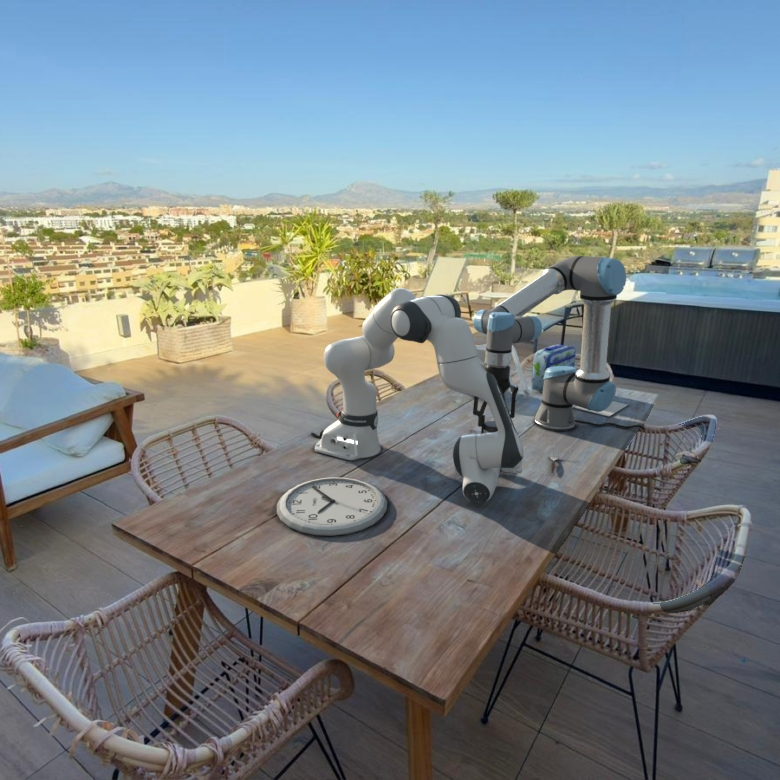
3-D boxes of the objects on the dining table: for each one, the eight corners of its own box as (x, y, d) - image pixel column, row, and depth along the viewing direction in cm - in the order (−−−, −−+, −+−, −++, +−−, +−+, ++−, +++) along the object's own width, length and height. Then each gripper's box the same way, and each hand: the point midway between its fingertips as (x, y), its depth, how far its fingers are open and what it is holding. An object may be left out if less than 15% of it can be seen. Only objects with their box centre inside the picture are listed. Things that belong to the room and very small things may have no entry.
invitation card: (608, 416, 214) (573, 407, 224) (608, 416, 214) (573, 408, 224) (628, 404, 229) (594, 396, 238) (628, 405, 229) (594, 397, 238)
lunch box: (547, 397, 237) (552, 352, 231) (526, 391, 245) (531, 348, 238) (574, 386, 255) (580, 344, 249) (554, 381, 262) (559, 340, 256)
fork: (547, 473, 163) (548, 467, 163) (550, 454, 177) (551, 448, 177) (556, 475, 162) (556, 469, 162) (558, 455, 177) (559, 449, 176)
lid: (504, 429, 162) (504, 423, 162) (495, 434, 158) (496, 428, 158) (489, 425, 166) (489, 419, 165) (480, 429, 162) (480, 424, 161)
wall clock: (392, 527, 129) (268, 531, 127) (391, 533, 130) (269, 537, 127) (383, 473, 158) (282, 475, 155) (383, 478, 158) (282, 480, 156)
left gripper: (522, 464, 149) (525, 445, 161) (451, 453, 154) (459, 437, 167) (520, 484, 151) (523, 464, 163) (450, 473, 156) (458, 455, 169)
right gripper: (528, 363, 158) (521, 435, 165) (467, 359, 161) (463, 430, 168) (529, 370, 151) (522, 444, 158) (465, 365, 154) (461, 438, 161)
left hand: (490, 450), depth 165 cm, fingers closed on jar, 5 cm apart
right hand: (491, 436), depth 163 cm, fingers closed on lid, 5 cm apart
